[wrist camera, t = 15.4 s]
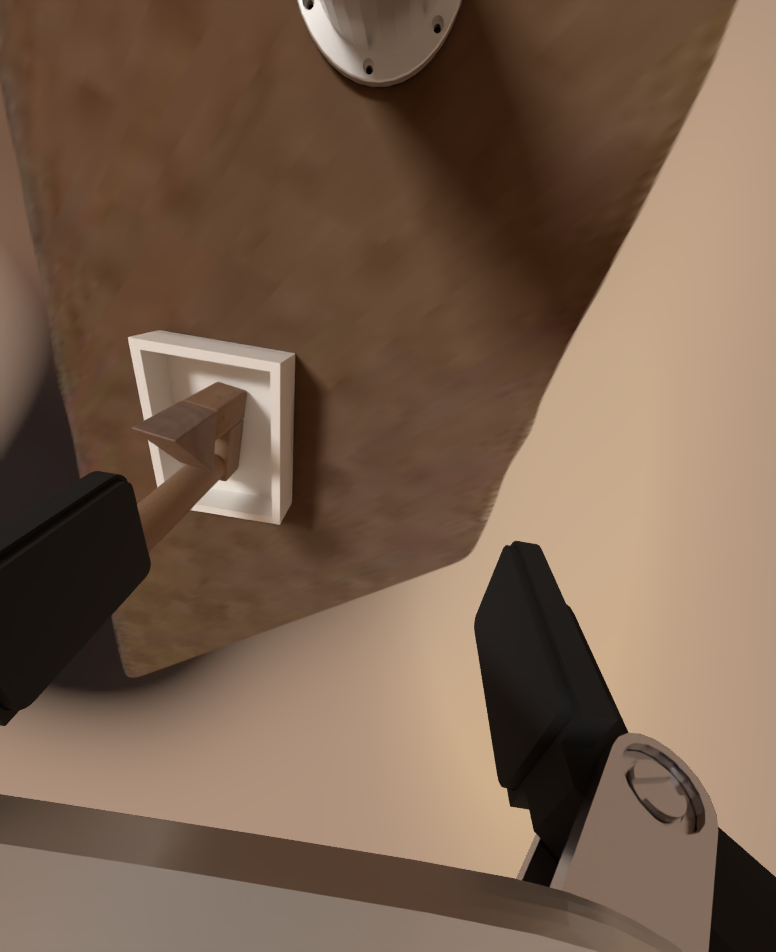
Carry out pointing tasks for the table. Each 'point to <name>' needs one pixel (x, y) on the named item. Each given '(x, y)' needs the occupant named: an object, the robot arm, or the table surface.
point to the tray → (265, 421)
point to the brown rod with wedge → (192, 453)
